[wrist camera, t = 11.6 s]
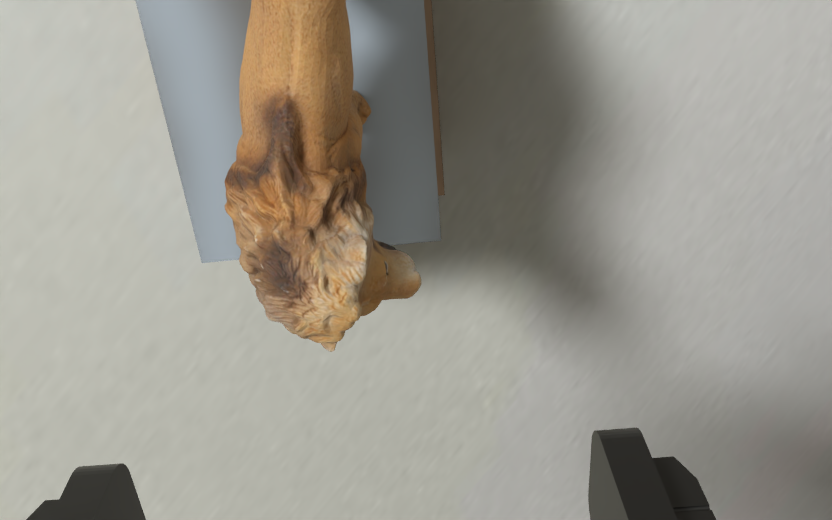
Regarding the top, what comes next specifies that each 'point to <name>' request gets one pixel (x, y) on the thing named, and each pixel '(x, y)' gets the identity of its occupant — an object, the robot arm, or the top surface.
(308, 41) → the lion figurine
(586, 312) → the top surface
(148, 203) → the top surface
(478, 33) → the top surface
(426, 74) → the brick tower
